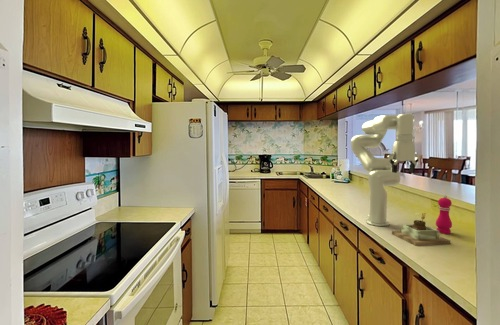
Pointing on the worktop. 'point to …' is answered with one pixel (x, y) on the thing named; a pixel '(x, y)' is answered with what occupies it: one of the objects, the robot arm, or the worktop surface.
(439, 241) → the collar stand
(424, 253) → the worktop surface
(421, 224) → the utensil holder
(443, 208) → the pepper mill
